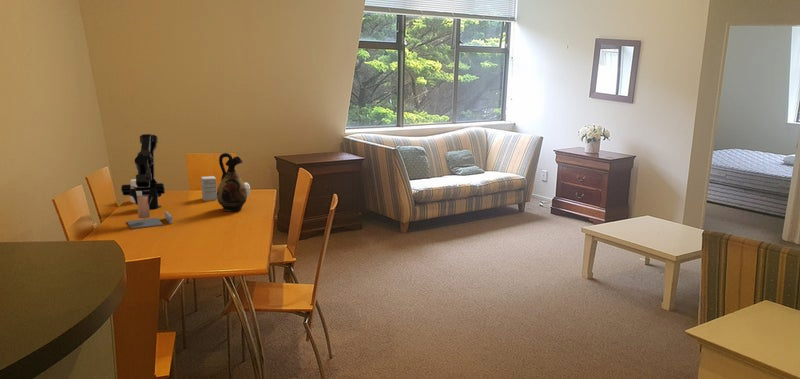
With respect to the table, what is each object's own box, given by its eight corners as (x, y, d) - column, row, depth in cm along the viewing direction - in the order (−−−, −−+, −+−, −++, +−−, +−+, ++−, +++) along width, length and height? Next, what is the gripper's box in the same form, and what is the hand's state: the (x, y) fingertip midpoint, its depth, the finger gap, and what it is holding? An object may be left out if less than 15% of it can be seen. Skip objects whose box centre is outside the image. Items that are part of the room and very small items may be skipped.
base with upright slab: (127, 202, 327) (125, 180, 324) (140, 199, 334) (139, 178, 332) (138, 204, 323) (136, 182, 320) (151, 200, 330) (150, 179, 328)
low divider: (165, 218, 294) (164, 211, 293) (167, 218, 295) (166, 211, 294) (170, 223, 284) (169, 216, 283) (172, 223, 285) (171, 216, 284)
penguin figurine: (250, 182, 339) (229, 186, 333) (252, 197, 341) (231, 201, 335) (247, 181, 344) (226, 184, 338) (249, 195, 346) (228, 199, 340)
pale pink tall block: (146, 214, 286) (145, 194, 284) (151, 216, 283) (150, 196, 281) (136, 216, 283) (134, 196, 281) (141, 218, 280) (139, 198, 277)
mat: (126, 222, 286) (126, 221, 286) (157, 218, 293) (157, 217, 293) (131, 229, 274) (131, 228, 274) (163, 225, 281) (162, 224, 281)
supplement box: (202, 198, 338) (200, 176, 335) (215, 197, 341) (214, 175, 338) (203, 201, 331) (202, 179, 328) (217, 200, 334) (216, 178, 332)
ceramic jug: (251, 206, 320) (249, 151, 314) (241, 213, 305) (239, 156, 299) (221, 205, 322) (218, 150, 315) (209, 212, 307) (206, 155, 300)
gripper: (120, 168, 279) (118, 196, 271) (162, 166, 284) (161, 194, 276) (124, 181, 288) (122, 208, 280) (165, 179, 293) (164, 206, 285)
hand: (142, 204), depth 280 cm, fingers closed on pale pink tall block, 5 cm apart
